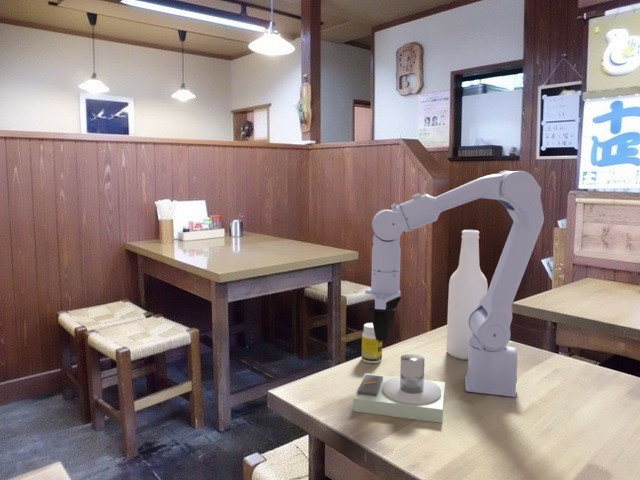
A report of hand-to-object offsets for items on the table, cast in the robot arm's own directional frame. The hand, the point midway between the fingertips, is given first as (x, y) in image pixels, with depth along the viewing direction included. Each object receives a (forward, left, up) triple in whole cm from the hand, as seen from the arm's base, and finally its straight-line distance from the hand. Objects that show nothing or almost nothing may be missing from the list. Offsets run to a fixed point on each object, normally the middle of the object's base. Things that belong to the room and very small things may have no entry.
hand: (384, 334), depth 105 cm
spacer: (-7, +8, -8) cm, 13 cm away
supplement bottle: (+4, -12, -11) cm, 17 cm away
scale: (-5, +8, -11) cm, 14 cm away
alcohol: (-17, -22, -11) cm, 30 cm away
